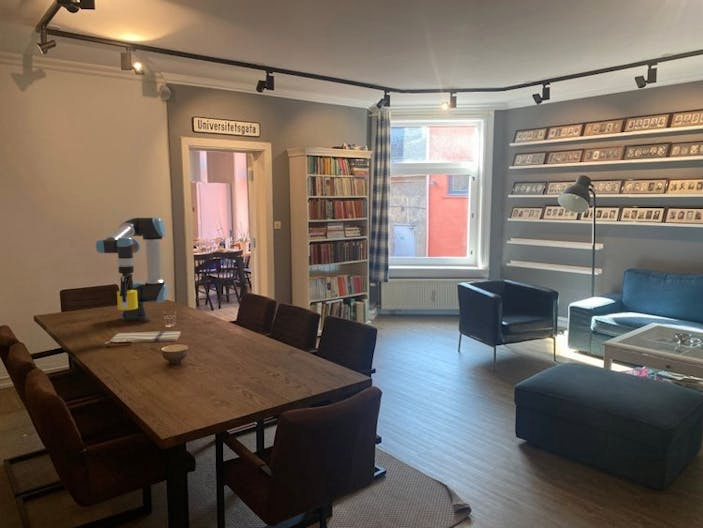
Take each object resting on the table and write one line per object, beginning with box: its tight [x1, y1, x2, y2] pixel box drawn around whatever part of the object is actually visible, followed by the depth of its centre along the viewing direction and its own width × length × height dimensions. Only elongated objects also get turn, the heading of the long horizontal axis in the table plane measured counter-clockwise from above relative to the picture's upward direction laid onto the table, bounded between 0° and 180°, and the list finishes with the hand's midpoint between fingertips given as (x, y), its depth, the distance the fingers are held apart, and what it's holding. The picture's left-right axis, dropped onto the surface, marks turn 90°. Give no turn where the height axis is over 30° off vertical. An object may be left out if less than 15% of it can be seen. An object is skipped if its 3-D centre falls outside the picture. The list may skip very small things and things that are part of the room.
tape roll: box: [116, 290, 138, 311], centre depth 286 cm, size 10×10×9 cm
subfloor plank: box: [109, 330, 182, 344], centre depth 289 cm, size 16×34×2 cm, turn 98°
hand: (127, 306), depth 286 cm, fingers closed on tape roll, 10 cm apart
